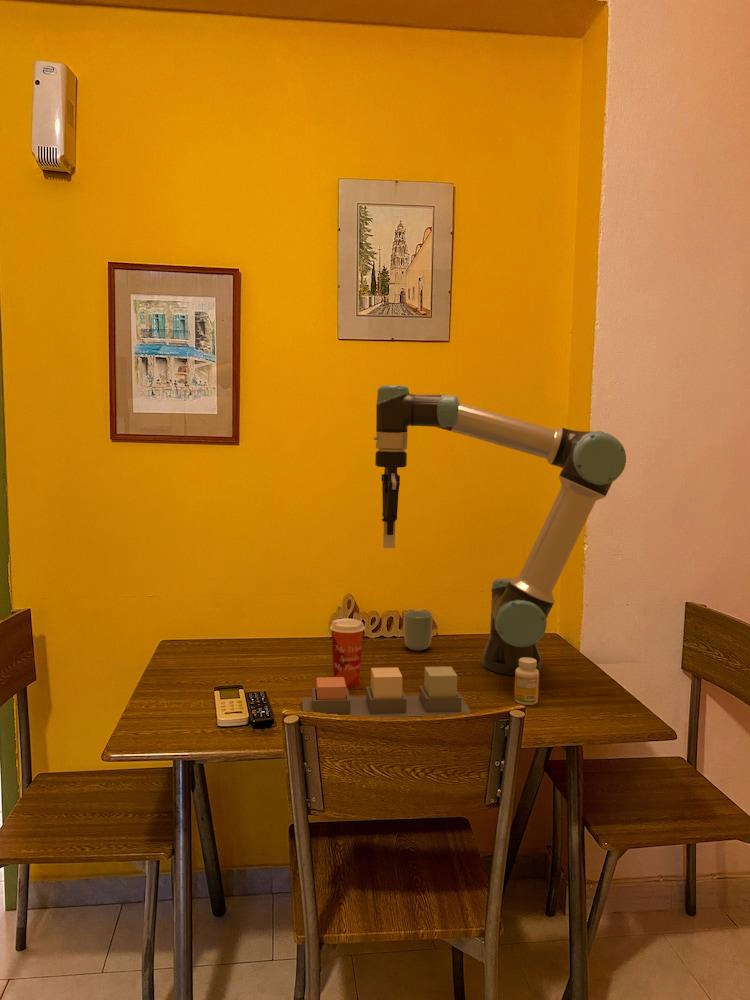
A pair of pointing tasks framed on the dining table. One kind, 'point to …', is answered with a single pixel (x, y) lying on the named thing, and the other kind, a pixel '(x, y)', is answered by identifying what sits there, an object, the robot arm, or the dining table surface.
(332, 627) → the coffee cup
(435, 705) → the grey socket tray
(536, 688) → the supplement bottle
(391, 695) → the key cream
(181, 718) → the dining table surface
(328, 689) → the key terracotta
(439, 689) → the key sage
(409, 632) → the cup
